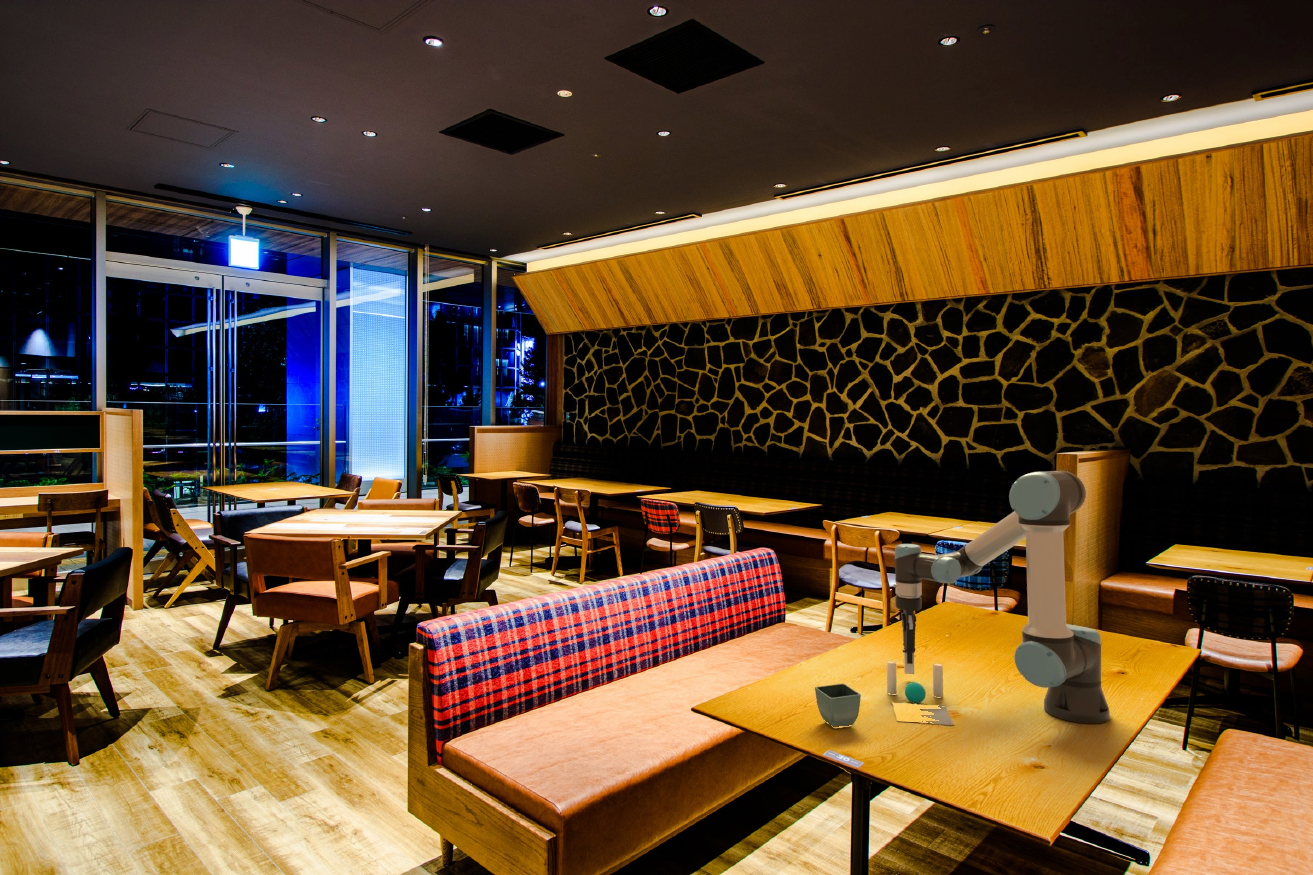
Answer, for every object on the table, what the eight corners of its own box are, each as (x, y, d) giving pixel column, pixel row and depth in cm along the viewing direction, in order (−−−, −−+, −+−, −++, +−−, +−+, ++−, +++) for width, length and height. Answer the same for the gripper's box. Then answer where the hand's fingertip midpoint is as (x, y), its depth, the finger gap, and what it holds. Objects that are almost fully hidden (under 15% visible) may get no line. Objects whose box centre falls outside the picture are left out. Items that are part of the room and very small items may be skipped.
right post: (943, 698, 204) (943, 666, 204) (934, 697, 205) (933, 666, 205) (942, 695, 206) (941, 663, 206) (932, 694, 207) (932, 663, 207)
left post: (897, 695, 207) (896, 664, 207) (887, 694, 207) (887, 663, 207) (896, 692, 209) (895, 661, 209) (886, 691, 210) (886, 660, 210)
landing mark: (954, 725, 185) (954, 724, 185) (896, 721, 188) (896, 720, 188) (944, 705, 199) (944, 705, 199) (891, 702, 202) (891, 701, 202)
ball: (925, 701, 203) (927, 705, 198) (904, 700, 204) (906, 704, 199) (923, 681, 204) (925, 684, 198) (903, 680, 205) (904, 683, 200)
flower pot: (831, 733, 181) (830, 698, 181) (814, 720, 189) (813, 686, 189) (862, 729, 183) (861, 694, 183) (844, 716, 192) (843, 682, 192)
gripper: (893, 590, 227) (894, 665, 227) (897, 599, 214) (898, 679, 214) (918, 591, 225) (919, 666, 225) (924, 600, 212) (925, 680, 212)
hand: (909, 672), depth 220 cm, fingers closed
